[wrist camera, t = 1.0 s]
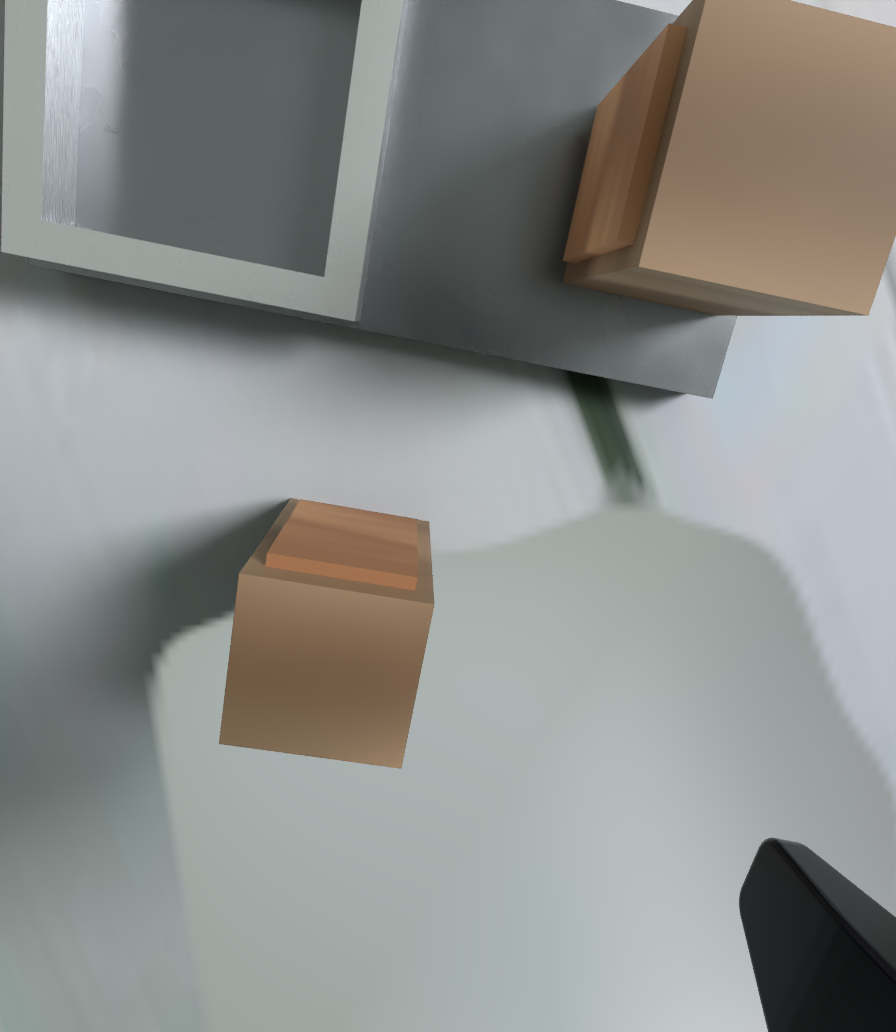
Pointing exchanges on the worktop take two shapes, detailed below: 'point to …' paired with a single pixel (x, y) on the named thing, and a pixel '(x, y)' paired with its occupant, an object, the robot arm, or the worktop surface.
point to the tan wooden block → (330, 635)
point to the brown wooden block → (744, 165)
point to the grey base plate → (338, 166)
